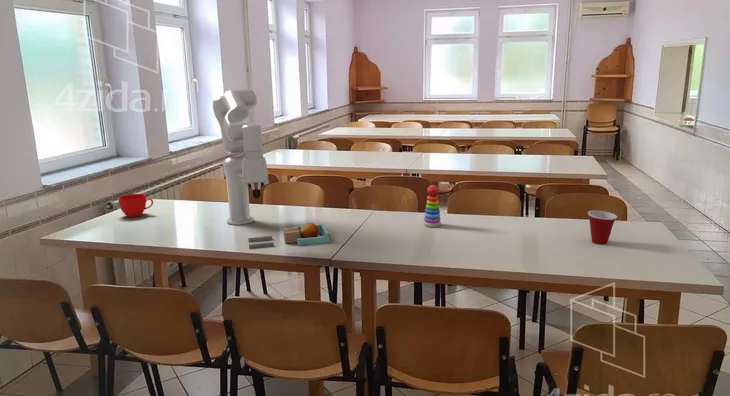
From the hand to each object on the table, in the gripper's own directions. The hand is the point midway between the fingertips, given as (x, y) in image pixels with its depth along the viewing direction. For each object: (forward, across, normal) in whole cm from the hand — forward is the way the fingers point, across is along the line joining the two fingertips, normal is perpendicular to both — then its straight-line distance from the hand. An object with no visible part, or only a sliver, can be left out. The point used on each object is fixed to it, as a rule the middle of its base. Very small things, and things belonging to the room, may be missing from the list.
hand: (256, 198), depth 223 cm
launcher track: (+19, 0, -2) cm, 19 cm away
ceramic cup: (+20, -58, +65) cm, 90 cm away
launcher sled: (+19, +13, -2) cm, 23 cm away
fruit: (+19, +21, -2) cm, 28 cm away
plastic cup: (+19, +132, -44) cm, 140 cm away
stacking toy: (+19, +77, 0) cm, 80 cm away
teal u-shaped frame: (+19, +21, -2) cm, 29 cm away
